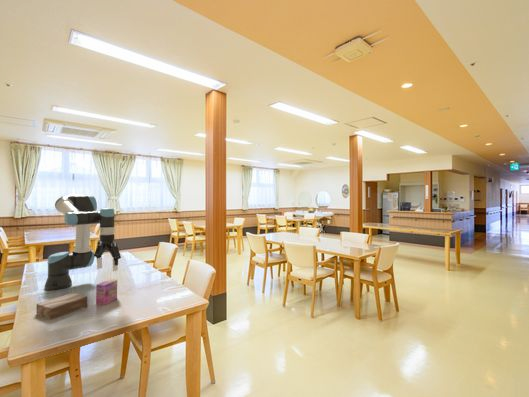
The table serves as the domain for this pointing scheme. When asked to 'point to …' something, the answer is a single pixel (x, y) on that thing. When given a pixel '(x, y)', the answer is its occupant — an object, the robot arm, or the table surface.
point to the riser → (61, 305)
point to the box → (106, 292)
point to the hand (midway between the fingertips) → (107, 269)
